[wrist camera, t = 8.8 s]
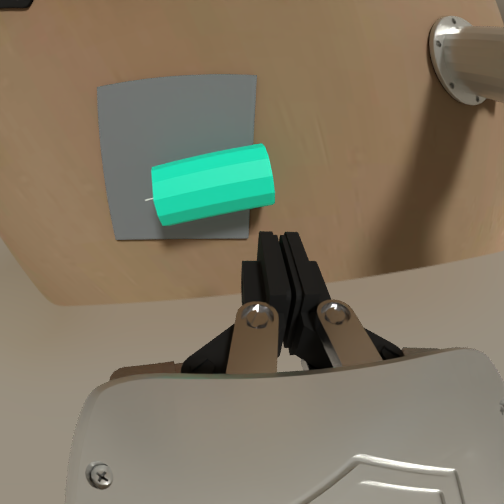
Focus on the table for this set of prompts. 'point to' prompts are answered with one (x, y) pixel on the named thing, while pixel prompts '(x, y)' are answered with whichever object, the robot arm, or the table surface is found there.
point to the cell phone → (15, 3)
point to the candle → (212, 184)
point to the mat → (170, 145)
